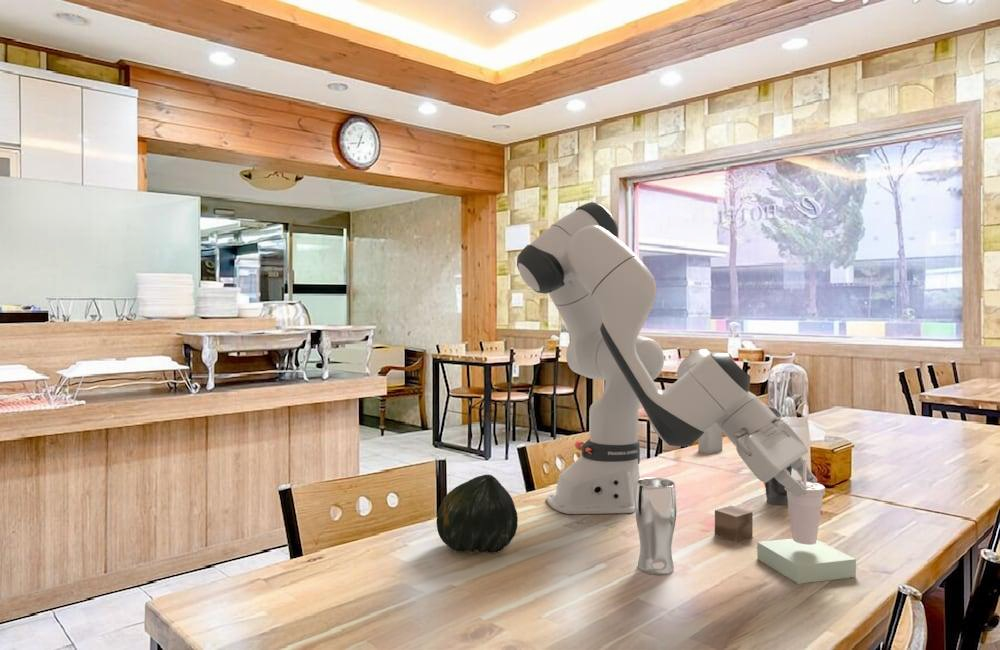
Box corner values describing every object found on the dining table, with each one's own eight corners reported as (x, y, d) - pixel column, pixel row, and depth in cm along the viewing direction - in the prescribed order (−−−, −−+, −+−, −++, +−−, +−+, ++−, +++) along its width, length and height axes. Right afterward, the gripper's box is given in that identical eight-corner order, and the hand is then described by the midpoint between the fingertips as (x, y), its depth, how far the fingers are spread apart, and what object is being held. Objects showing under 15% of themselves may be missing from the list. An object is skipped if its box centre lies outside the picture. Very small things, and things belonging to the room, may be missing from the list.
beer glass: (653, 579, 110) (653, 490, 109) (627, 565, 116) (626, 480, 115) (685, 571, 113) (685, 484, 112) (657, 557, 119) (657, 475, 119)
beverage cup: (798, 507, 147) (798, 418, 147) (763, 506, 149) (763, 417, 148) (790, 498, 154) (791, 413, 154) (757, 496, 156) (758, 412, 155)
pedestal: (798, 583, 108) (798, 565, 107) (757, 558, 118) (757, 542, 118) (855, 577, 110) (855, 559, 110) (810, 552, 121) (810, 536, 121)
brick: (736, 542, 127) (736, 516, 126) (714, 535, 131) (714, 510, 131) (752, 537, 129) (752, 512, 129) (731, 530, 134) (731, 505, 133)
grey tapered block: (722, 450, 205) (722, 418, 204) (708, 453, 201) (708, 421, 200) (712, 448, 208) (712, 417, 207) (698, 451, 204) (698, 419, 203)
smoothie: (824, 537, 115) (825, 457, 115) (825, 549, 110) (826, 465, 109) (784, 532, 118) (785, 454, 118) (783, 544, 112) (783, 462, 112)
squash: (424, 509, 131) (442, 464, 121) (494, 503, 137) (516, 459, 127) (440, 577, 121) (460, 533, 112) (514, 566, 127) (539, 524, 118)
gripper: (743, 423, 109) (806, 491, 104) (779, 407, 125) (835, 466, 120) (717, 446, 112) (776, 514, 107) (755, 428, 128) (808, 486, 123)
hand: (808, 488), depth 113 cm, fingers closed on smoothie, 6 cm apart
